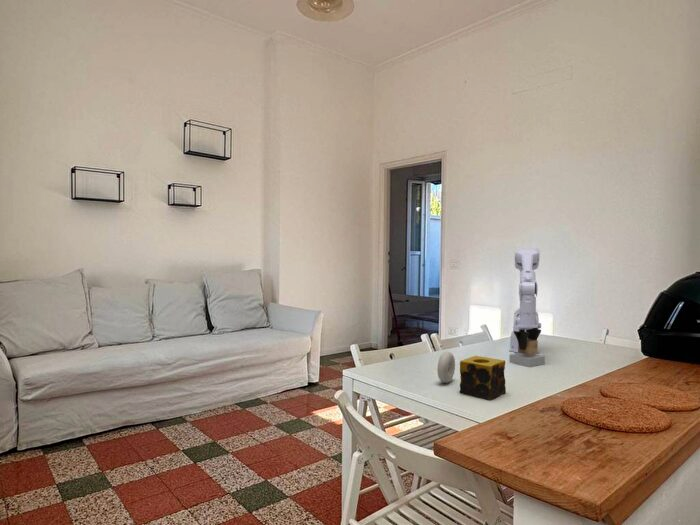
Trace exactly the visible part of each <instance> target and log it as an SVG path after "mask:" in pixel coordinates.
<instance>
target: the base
mask: <svg viewBox="0 0 700 525" xmlns="http://www.w3.org/2000/svg"><path fill="white" fill-rule="evenodd" d="M545 362H546V357H545V355H541V354H533V355H526V354H522V353H517V352H514V353H511V354H509V363H511V364H516V365H519V366H523V367H528V368H533V367H538V366H542V365H545Z"/></svg>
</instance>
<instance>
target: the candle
mask: <svg viewBox="0 0 700 525" xmlns="http://www.w3.org/2000/svg"><path fill="white" fill-rule="evenodd" d="M505 369H506V360H505V359H499V358H498V359H497V358H491V357H488V356H487V357H486V356H481V355H480V356H479V355H473V356H470V357H467V358H464V359H462V360H460V361H459V374H460V375H459V376H460V377H459V379H460V383H459V394H463V395H466V396H470V397H475V398H479V399H484V400H488V401H492V400H494V399H496V398H499V397H501V395H504V394H506V392H507V390H506V389H507V388H506V381H507V380H506V378H505Z"/></svg>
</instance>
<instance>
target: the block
mask: <svg viewBox="0 0 700 525" xmlns="http://www.w3.org/2000/svg"><path fill="white" fill-rule="evenodd" d="M538 343H539V341H538V339H537V340H533V339H527V343H526V349H525V350H522V349H520V348H519V344H518V353H522V354H526V355H533V354H537V355H539V353H538V351H539V349H538V348H539V347H538V345H539V344H538Z"/></svg>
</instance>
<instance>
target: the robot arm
mask: <svg viewBox="0 0 700 525" xmlns="http://www.w3.org/2000/svg"><path fill="white" fill-rule="evenodd" d="M540 252H541V251H540V249H539V248H537V247H536V248H518V247H516V248H514V266H515V269H517V270H519V271H520V272H519V283H518V295H519V296H518V297H519V308H518V309H516V310H515V311H514V313H513V314H514V315H513V327H512V328H513V329H512V330H513V331H511V333H510V335H509V336H510V338H509V340H510V341H509V342H510V343H509V344H510V346H509V348H510V349H508V351H509V352H513V353H518V344H519V348H520V349H522V350H525V349H526V343H527V339H533V340H538V339H539V336H540V335H541V333H542V323H540V322H539V321H540V320H539V313H538V311H537V297H538V282H537V280H536V278H537V277H536V271H535V270H538V268H539V264H540ZM539 353H540V351H539V350H538V354H539Z"/></svg>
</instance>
